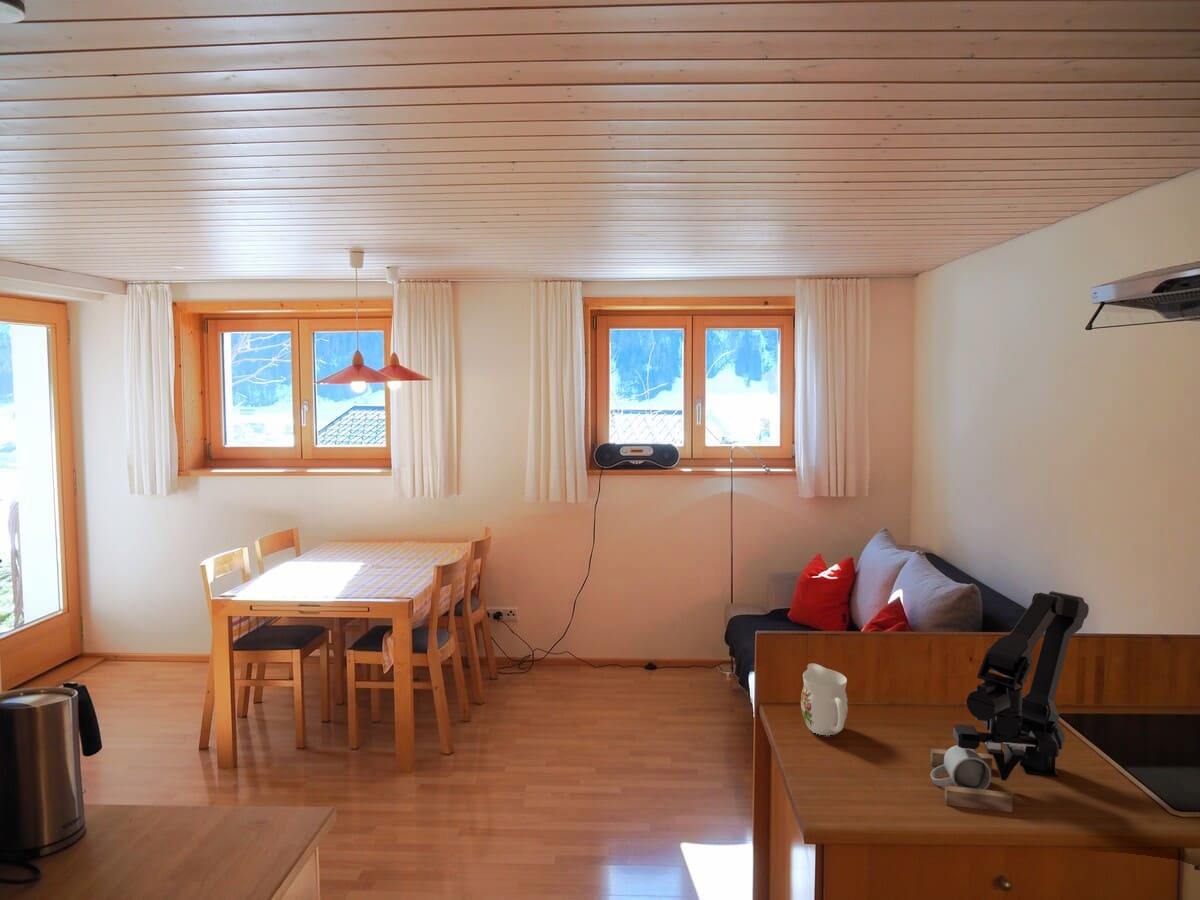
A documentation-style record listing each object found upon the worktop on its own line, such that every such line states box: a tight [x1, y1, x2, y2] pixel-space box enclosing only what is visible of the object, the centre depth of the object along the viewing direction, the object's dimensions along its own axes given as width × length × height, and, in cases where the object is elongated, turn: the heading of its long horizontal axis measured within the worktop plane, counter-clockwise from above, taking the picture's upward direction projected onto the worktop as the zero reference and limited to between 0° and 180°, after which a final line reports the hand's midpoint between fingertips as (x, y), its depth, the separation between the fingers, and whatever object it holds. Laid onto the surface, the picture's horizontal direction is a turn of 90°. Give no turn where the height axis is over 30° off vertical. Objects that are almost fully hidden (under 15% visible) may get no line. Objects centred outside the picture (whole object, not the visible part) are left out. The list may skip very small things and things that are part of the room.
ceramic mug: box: [930, 744, 992, 790], centre depth 162 cm, size 11×8×8 cm
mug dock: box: [929, 748, 1014, 813], centre depth 162 cm, size 12×18×3 cm, turn 166°
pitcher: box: [800, 663, 849, 737], centre depth 186 cm, size 11×18×14 cm, turn 8°
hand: (1003, 779), depth 160 cm, fingers closed
